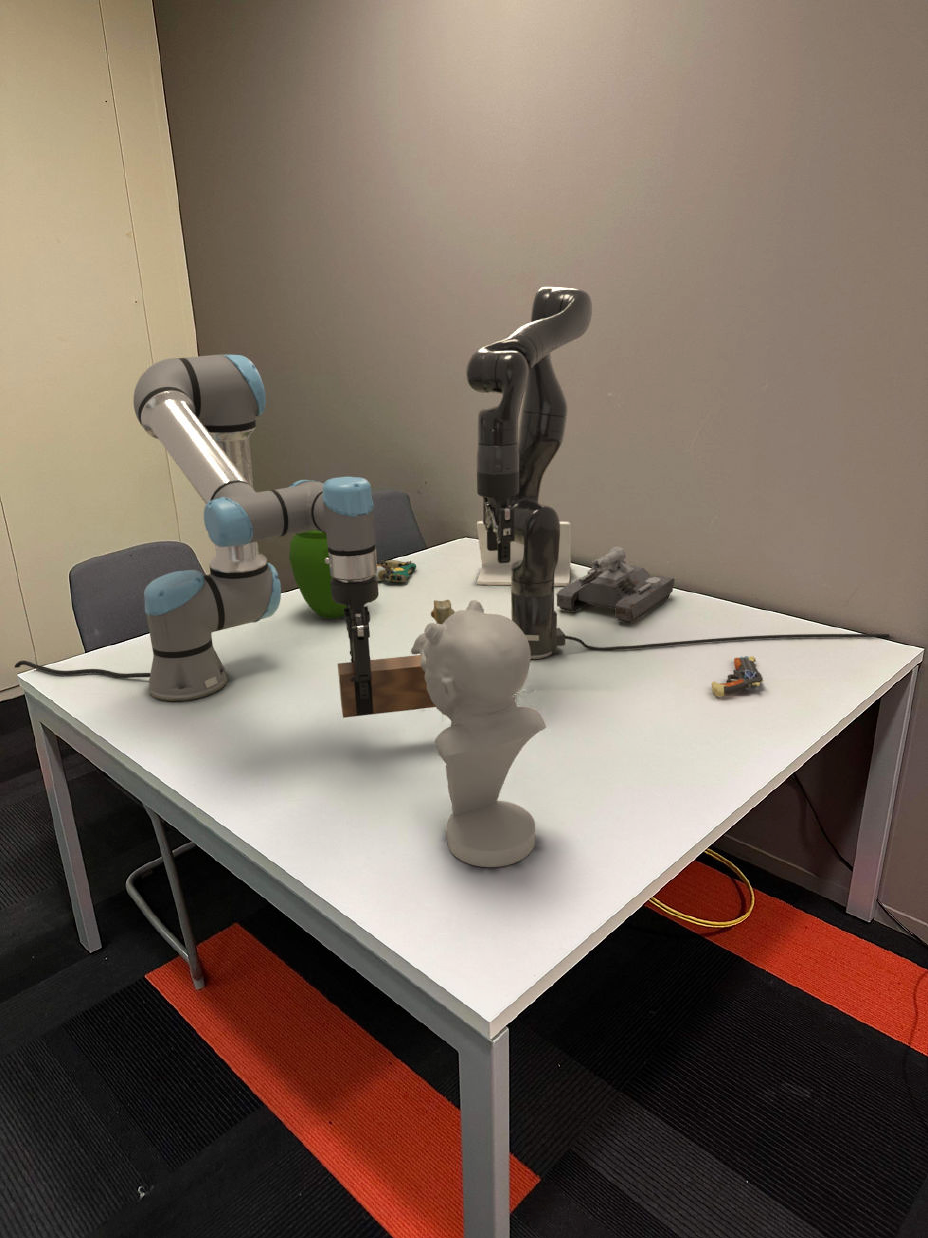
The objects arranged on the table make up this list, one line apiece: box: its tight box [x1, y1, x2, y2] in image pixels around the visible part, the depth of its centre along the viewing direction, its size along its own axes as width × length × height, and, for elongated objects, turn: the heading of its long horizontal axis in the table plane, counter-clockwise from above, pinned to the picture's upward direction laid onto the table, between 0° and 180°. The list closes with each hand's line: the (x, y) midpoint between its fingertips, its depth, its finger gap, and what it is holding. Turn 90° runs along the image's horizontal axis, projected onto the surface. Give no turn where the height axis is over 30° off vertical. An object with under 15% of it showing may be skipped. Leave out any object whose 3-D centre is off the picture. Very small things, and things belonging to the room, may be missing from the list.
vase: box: [288, 530, 347, 620], centre depth 209 cm, size 20×20×24 cm
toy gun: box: [711, 655, 765, 698], centre depth 171 cm, size 3×19×10 cm
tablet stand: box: [476, 520, 572, 587], centre depth 236 cm, size 18×25×17 cm
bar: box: [337, 654, 436, 719], centre depth 145 cm, size 25×5×8 cm, turn 101°
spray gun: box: [375, 559, 417, 583], centre depth 241 cm, size 4×17×15 cm
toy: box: [556, 546, 676, 624], centre depth 212 cm, size 25×20×15 cm
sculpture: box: [430, 599, 456, 624], centre depth 177 cm, size 6×7×15 cm
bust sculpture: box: [410, 599, 547, 868], centre depth 121 cm, size 16×24×35 cm
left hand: (363, 706), depth 145 cm, fingers closed on bar, 5 cm apart
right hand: (498, 556), depth 157 cm, fingers open, 8 cm apart
